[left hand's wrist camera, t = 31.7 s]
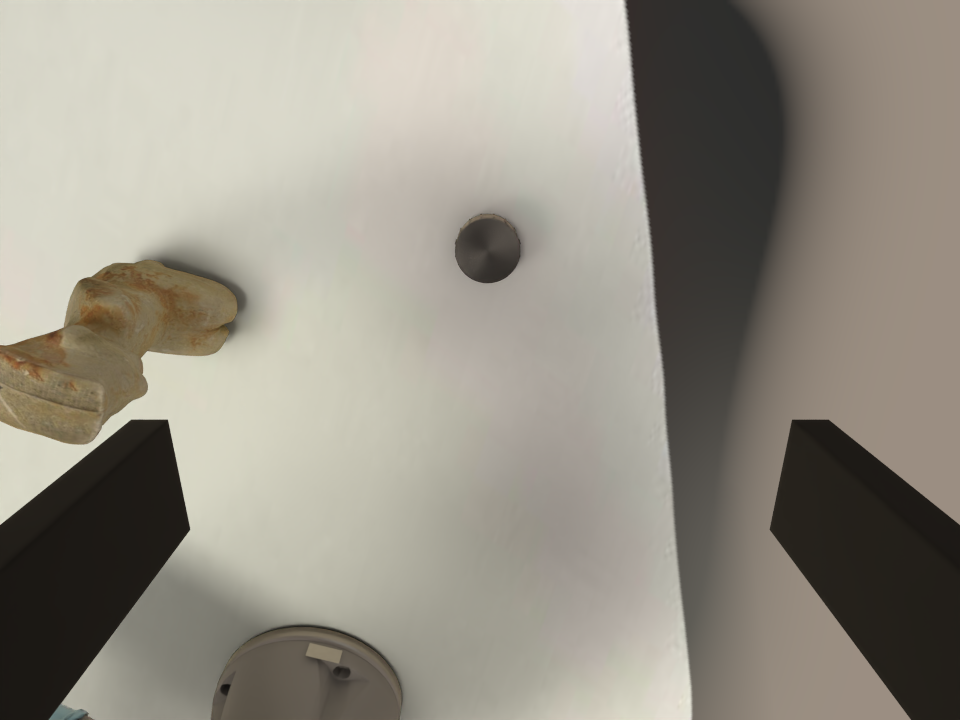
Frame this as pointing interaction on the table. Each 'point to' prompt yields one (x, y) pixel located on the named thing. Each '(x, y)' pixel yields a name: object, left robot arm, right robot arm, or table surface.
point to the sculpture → (109, 347)
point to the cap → (487, 248)
